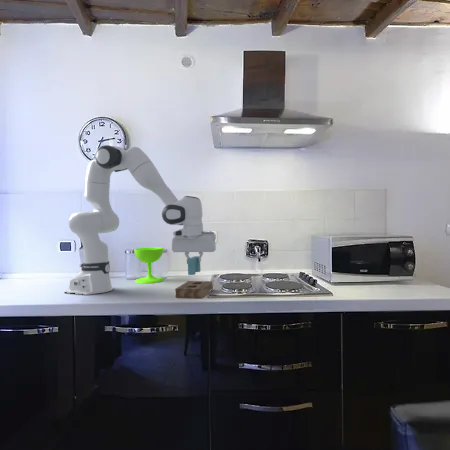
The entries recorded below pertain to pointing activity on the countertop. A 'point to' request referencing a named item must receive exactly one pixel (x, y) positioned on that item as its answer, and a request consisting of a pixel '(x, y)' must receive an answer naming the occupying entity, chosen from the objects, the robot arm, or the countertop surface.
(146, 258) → the wineglass
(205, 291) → the wooden board with holes
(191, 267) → the teal long block
